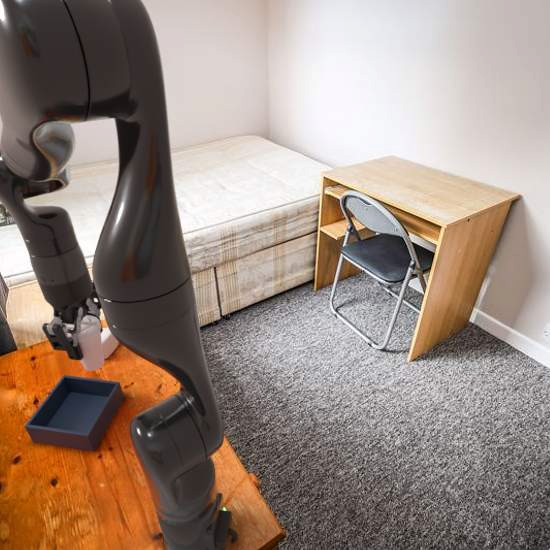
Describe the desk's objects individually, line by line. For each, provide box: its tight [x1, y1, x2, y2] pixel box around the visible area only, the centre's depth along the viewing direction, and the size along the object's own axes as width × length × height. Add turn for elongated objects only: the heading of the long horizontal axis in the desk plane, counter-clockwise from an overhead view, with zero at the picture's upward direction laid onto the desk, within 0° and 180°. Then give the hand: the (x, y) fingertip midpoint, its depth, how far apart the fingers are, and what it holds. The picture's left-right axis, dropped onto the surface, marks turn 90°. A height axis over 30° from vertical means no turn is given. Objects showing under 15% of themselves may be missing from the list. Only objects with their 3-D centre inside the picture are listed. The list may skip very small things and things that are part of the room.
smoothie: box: [65, 315, 105, 372], centre depth 71 cm, size 6×6×14 cm
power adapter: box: [101, 326, 119, 360], centre depth 100 cm, size 11×5×6 cm, turn 164°
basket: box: [23, 374, 125, 452], centre depth 81 cm, size 13×13×5 cm
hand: (87, 344), depth 72 cm, fingers closed on smoothie, 6 cm apart
